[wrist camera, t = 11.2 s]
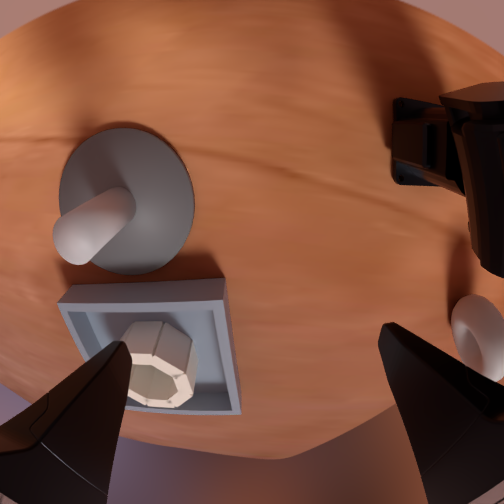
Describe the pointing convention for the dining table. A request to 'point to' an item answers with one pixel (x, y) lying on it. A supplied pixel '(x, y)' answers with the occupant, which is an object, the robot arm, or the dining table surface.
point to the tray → (167, 310)
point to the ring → (160, 364)
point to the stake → (124, 203)
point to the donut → (479, 335)
